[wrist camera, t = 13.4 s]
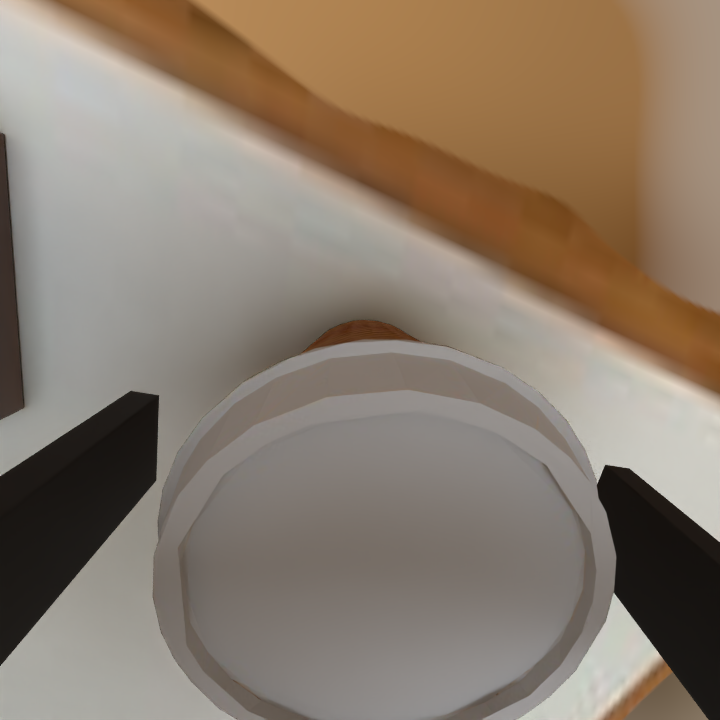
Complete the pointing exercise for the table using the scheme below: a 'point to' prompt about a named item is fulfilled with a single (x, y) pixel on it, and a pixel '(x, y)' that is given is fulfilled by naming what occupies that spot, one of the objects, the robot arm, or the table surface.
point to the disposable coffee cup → (381, 539)
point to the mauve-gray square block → (8, 308)
